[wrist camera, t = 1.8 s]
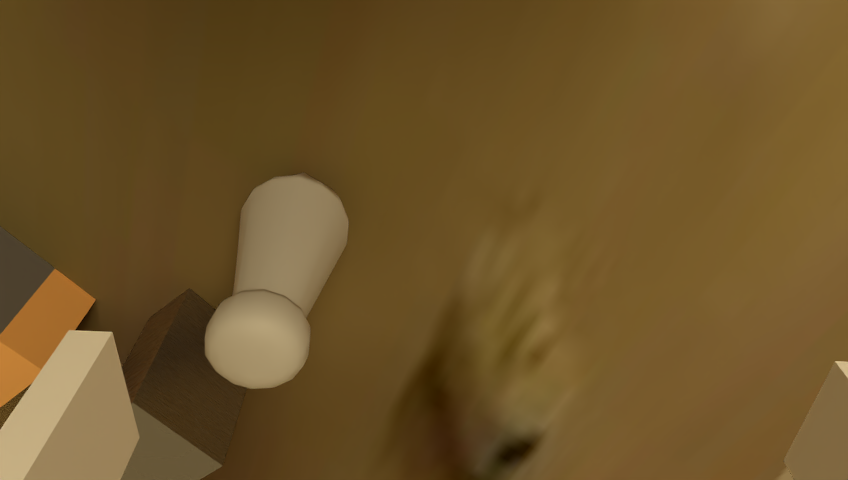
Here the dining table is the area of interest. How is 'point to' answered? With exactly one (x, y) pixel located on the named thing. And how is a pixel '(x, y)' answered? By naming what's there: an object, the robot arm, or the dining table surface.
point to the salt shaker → (276, 281)
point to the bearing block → (178, 396)
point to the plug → (32, 313)
